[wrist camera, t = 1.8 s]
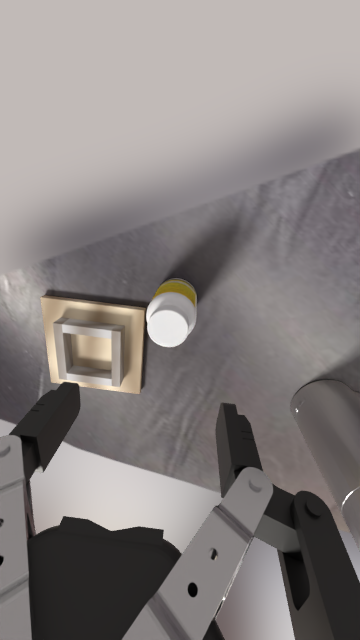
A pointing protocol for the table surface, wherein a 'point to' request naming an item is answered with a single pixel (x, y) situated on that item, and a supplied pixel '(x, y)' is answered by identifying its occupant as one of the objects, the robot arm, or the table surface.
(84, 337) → the socket stand
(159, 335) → the supplement bottle
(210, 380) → the table surface
